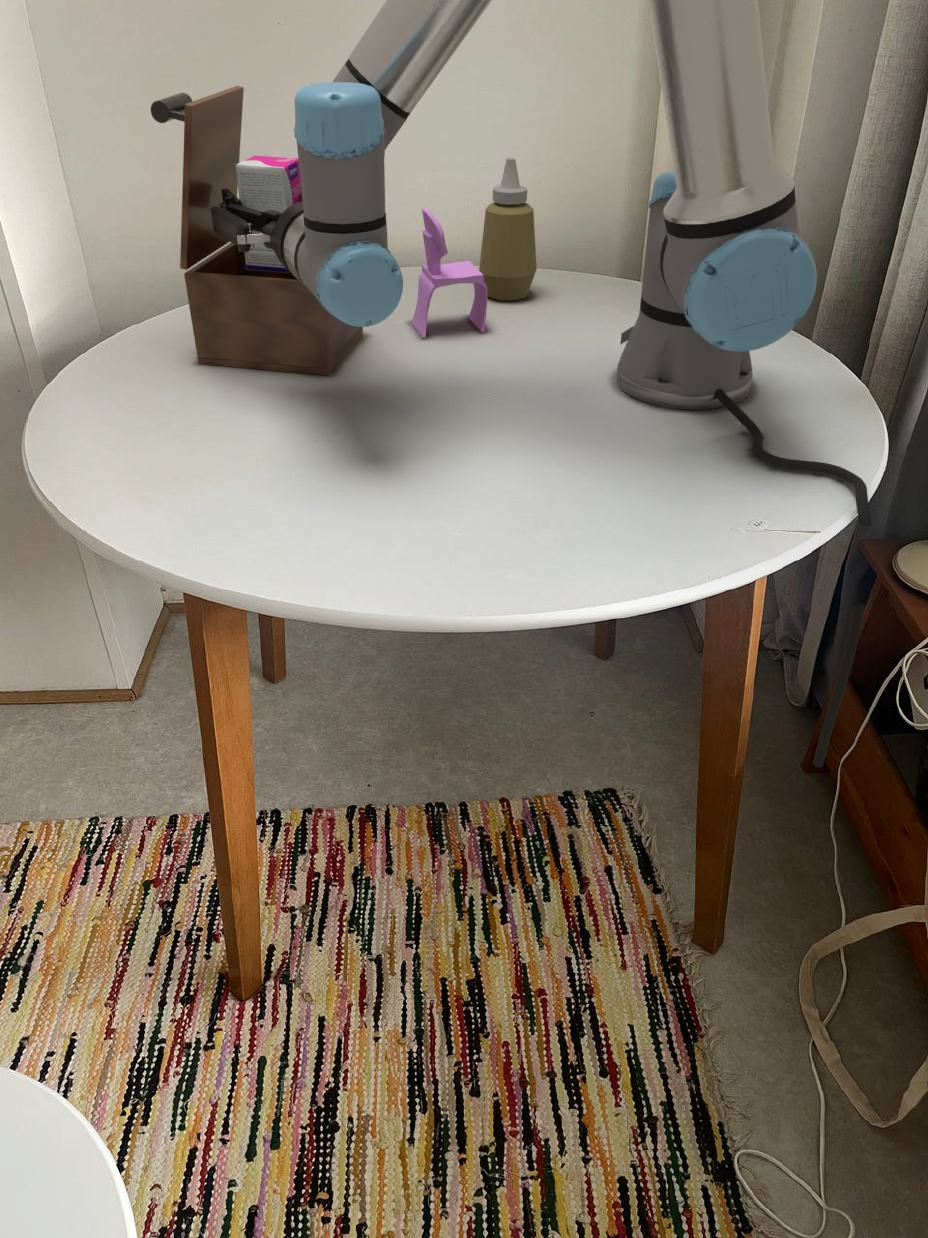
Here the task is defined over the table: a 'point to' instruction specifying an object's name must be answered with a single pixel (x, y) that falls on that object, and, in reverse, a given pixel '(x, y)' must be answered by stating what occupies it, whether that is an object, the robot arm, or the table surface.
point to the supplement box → (268, 199)
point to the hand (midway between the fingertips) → (261, 197)
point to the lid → (204, 163)
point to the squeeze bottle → (508, 239)
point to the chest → (262, 319)
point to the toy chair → (445, 277)
